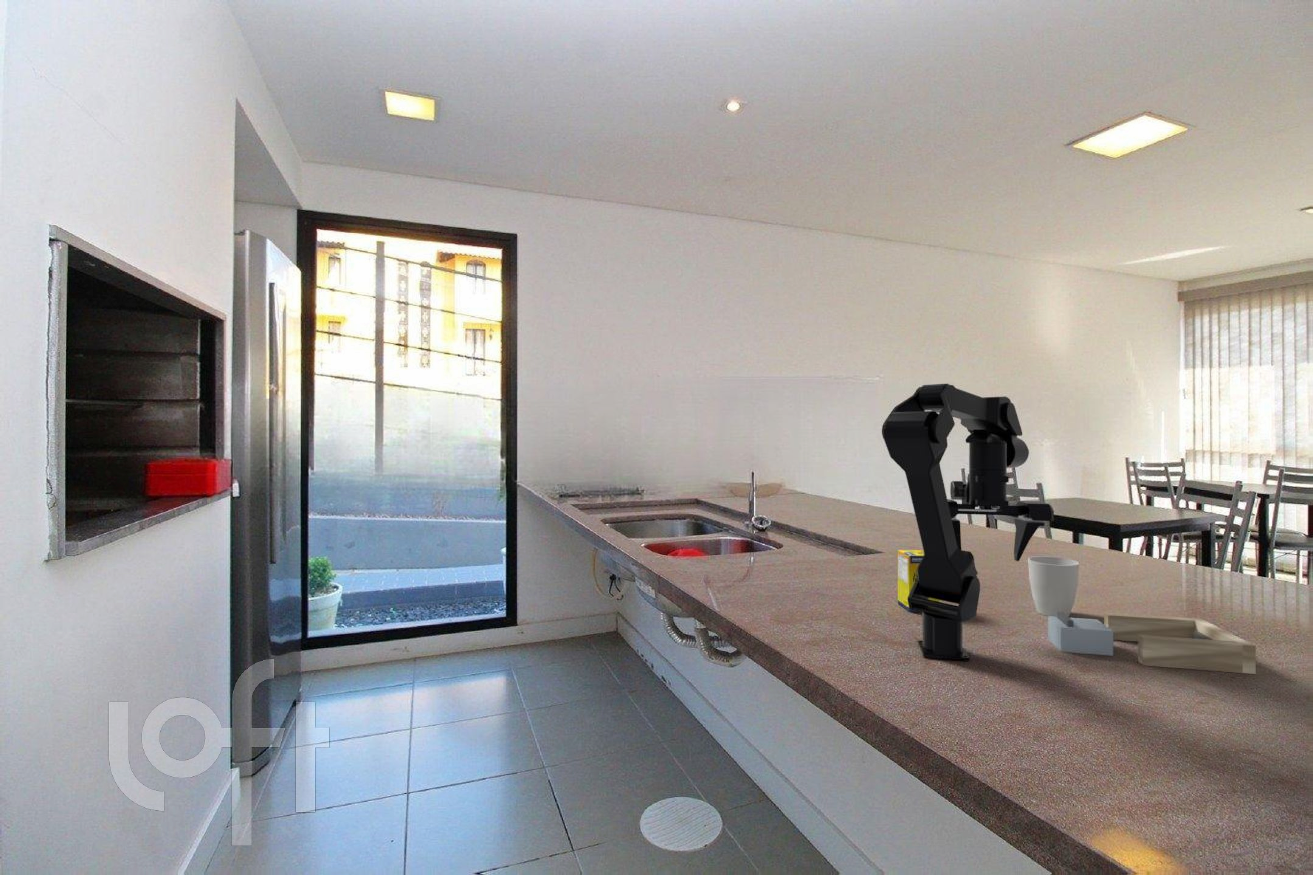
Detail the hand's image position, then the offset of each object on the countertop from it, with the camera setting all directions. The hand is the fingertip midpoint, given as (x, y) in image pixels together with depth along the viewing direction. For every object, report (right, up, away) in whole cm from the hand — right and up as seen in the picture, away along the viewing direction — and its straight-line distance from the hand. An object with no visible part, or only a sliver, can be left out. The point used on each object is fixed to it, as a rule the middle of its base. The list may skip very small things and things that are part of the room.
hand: (987, 559), depth 106 cm
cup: (+18, -12, +10) cm, 24 cm away
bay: (+22, -12, -11) cm, 27 cm away
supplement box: (-6, -13, +14) cm, 20 cm away
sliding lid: (+10, -13, -8) cm, 18 cm away
